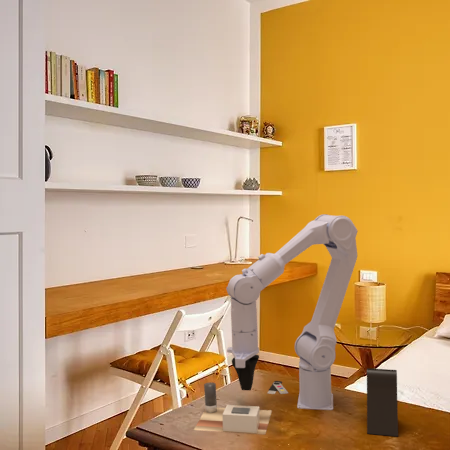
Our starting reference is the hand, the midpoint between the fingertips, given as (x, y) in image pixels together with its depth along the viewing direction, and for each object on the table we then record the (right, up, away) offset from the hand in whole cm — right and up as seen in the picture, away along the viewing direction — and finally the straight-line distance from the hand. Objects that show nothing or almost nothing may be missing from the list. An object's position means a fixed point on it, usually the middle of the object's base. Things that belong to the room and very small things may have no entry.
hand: (246, 389), depth 119 cm
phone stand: (+28, -6, -8) cm, 30 cm away
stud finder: (-1, -6, -7) cm, 9 cm away
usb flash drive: (+9, -5, +14) cm, 18 cm away
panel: (-3, -6, -4) cm, 8 cm away
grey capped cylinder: (-8, -5, +1) cm, 10 cm away
